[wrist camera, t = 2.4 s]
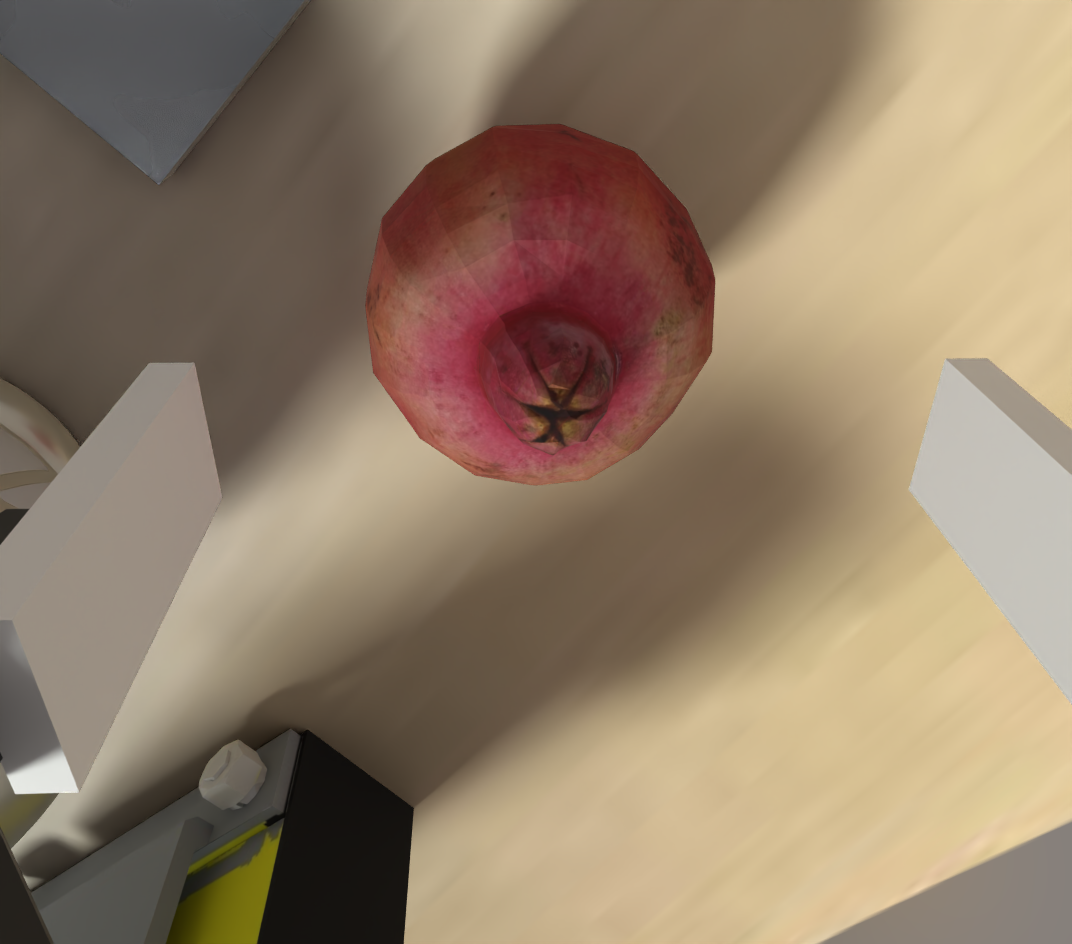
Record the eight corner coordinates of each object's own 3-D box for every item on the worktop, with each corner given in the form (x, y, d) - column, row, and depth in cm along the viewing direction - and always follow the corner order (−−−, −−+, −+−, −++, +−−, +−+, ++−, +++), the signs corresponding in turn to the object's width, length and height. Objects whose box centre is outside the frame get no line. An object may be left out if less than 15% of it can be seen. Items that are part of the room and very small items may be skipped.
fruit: (318, 222, 23) (226, 384, 15) (565, 24, 21) (623, 82, 13) (499, 432, 27) (508, 659, 19) (725, 281, 25) (853, 460, 16)
